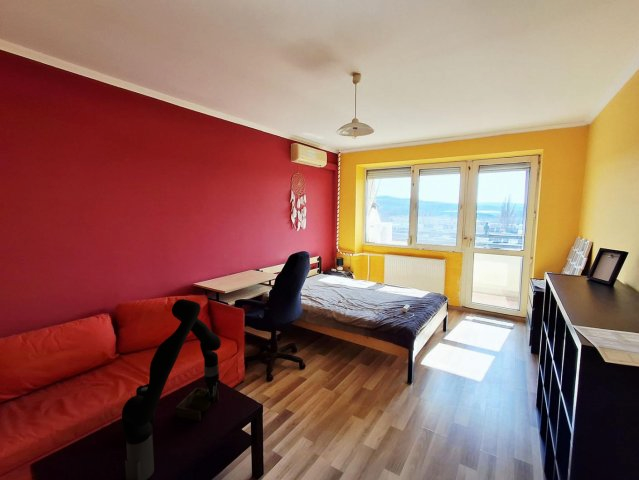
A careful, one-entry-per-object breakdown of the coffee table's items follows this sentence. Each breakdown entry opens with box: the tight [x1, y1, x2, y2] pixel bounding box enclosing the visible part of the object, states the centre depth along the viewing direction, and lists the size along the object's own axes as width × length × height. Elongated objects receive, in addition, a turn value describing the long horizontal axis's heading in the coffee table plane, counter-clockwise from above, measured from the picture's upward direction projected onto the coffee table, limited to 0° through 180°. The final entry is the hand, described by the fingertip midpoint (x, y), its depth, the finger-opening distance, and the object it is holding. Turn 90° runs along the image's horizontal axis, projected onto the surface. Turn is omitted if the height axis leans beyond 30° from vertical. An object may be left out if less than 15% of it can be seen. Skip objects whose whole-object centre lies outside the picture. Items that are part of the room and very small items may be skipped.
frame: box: [174, 387, 220, 422], centre depth 164 cm, size 18×14×5 cm
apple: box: [191, 390, 212, 413], centre depth 162 cm, size 10×10×11 cm
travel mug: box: [135, 383, 155, 427], centre depth 149 cm, size 8×8×20 cm
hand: (212, 401), depth 162 cm, fingers closed
